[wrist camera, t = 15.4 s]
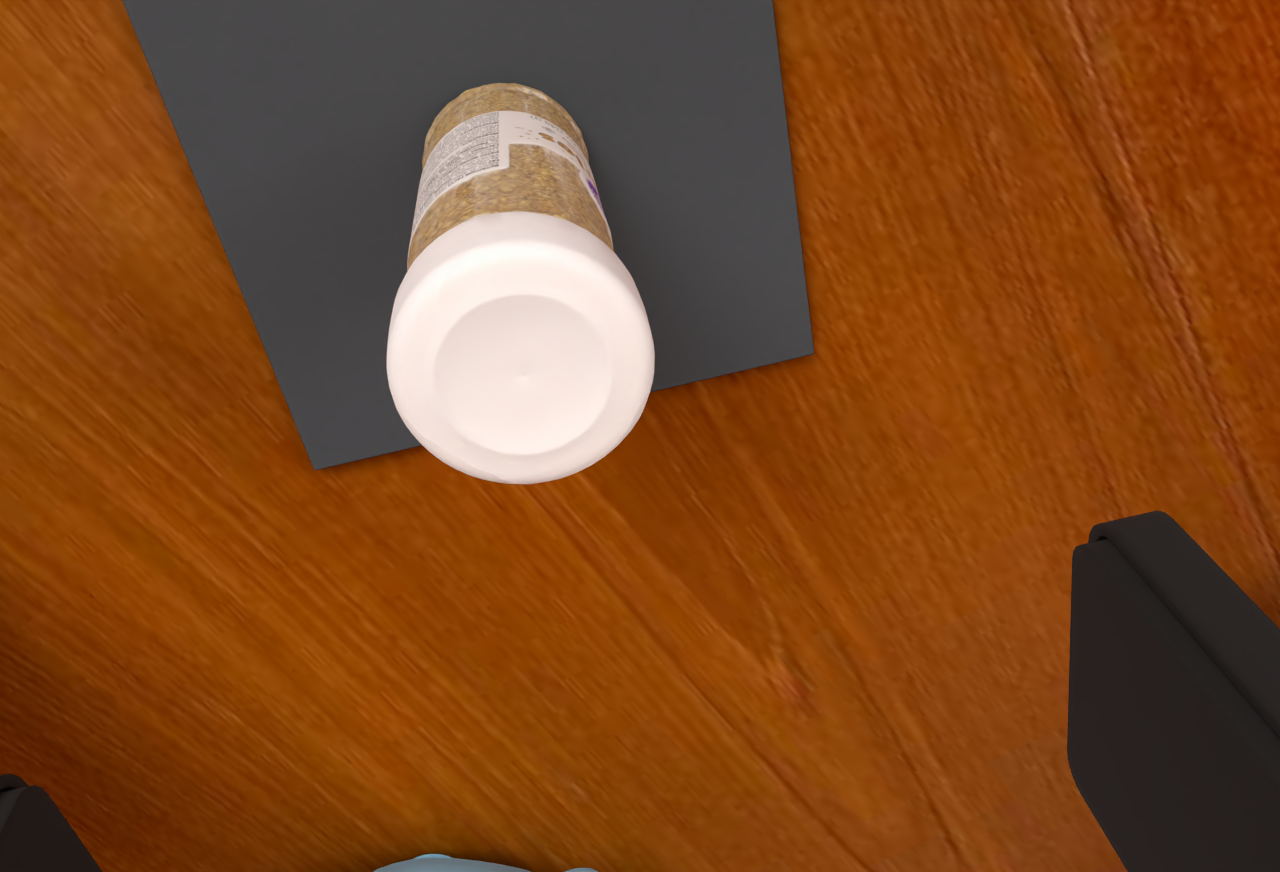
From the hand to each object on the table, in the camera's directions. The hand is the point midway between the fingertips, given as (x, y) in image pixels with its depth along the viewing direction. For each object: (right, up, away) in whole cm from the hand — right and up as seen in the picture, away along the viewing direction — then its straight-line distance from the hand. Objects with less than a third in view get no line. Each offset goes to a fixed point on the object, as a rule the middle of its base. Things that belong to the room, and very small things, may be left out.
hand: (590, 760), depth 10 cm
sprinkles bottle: (-3, +11, +20) cm, 23 cm away
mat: (-3, +11, +20) cm, 23 cm away
